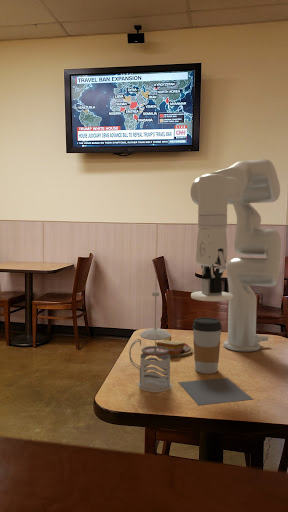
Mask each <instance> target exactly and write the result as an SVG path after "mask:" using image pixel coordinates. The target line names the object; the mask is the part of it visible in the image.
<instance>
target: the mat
mask: <svg viewBox="0 0 288 512" xmlns="http://www.w3.org/2000/svg"><path fill="white" fill-rule="evenodd" d="M178 384H179V385H180V387H181V388H183V390H185V392H186V393H187V394H188V396H189V397H190V398H191V399H192V400H193V401H194V402H195V404H197V406H205V405H215V404H225V403H226V404H227V403H232V402H242V401H243V402H244V401H251V400H254V398H253V397H251V396H250V395H249V394H248V393H247V392H245V391H244V390H243V389H242V388H241V387H239V386H238V385H236V384H235V383H234V382H233V381H231V380H230V379H229V378H228V377H221V378H220V377H219V378H210V379H200V380H199V379H198V380H188V381H178Z"/></svg>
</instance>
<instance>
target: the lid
mask: <svg viewBox="0 0 288 512" xmlns="http://www.w3.org/2000/svg"><path fill="white" fill-rule="evenodd" d="M190 298H191V299H193V300H195V301H196V300H197V301H202V302H229V300H231V299H233V295H232V294H231V293H229V292H226V291H222V292H221V293H210V279H202V278H201V291H194V292H191V294H190Z"/></svg>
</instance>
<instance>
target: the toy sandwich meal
mask: <svg viewBox="0 0 288 512" xmlns="http://www.w3.org/2000/svg"><path fill="white" fill-rule="evenodd" d="M156 346H158V347H165V348H168V350H169V352H168V353H167V354H169V355H170V358H182V357H186V356H190V355H191V354H192V353H193V352H194V348H193V347H192V346H189V344H187V343H185V342H182V341H174V340H172V335H171V336H170V338H168V339H166V340H160V341H156Z"/></svg>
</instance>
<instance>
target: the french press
mask: <svg viewBox="0 0 288 512" xmlns="http://www.w3.org/2000/svg"><path fill="white" fill-rule="evenodd" d="M151 295H152V296H153V297H154V308H155V309H154V327H151V328H147V329H145V330H143V331H141V332H140V333H139V336H140V337H141V338H142V339H143V340H144V339H145V340H148V341H154V345H149V346H144V347H143V348H141V352H142V353H141V354H140V365H138V364H137V363H136V362H135V361H133V358H132V356H131V355H132V353H131V351H132V348H133V346H134V345H135V344H137V343H139V345H140V347H142V339H140V338H138V339H136V340H134V341H133V342H132V343H131V345H130V347H129V351H128V353H129V361H130V363H131V365H132V366H133V367H135V368H136V369H138V370H139V381H138V383H137V386H138V388H139V389H140V390H142V391H145V392H152V393H161V392H166V391H168V390H170V389H171V388H172V387H173V385H172V383H171V357H170V355H169V354H167V353H168V352H169V350H168V348H165V347H158V346H157V345H156V342H157V341H164V340H166V339H168V338H170V336H171V337H172V334H171V333H170V332H169V331H167V330H166V329H162V328H158V327H157V297H159V296H160V292H159V291H157V290H155V291H153V292H152V293H151ZM149 356H151V357H149ZM153 356H155V357H153ZM147 357H148V358H147ZM156 357H157V358H156ZM158 358H159V359H158ZM150 365H152V366H150ZM157 367H158V368H157ZM160 369H161V370H160ZM150 370H151V371H150ZM161 374H162V375H161Z"/></svg>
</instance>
